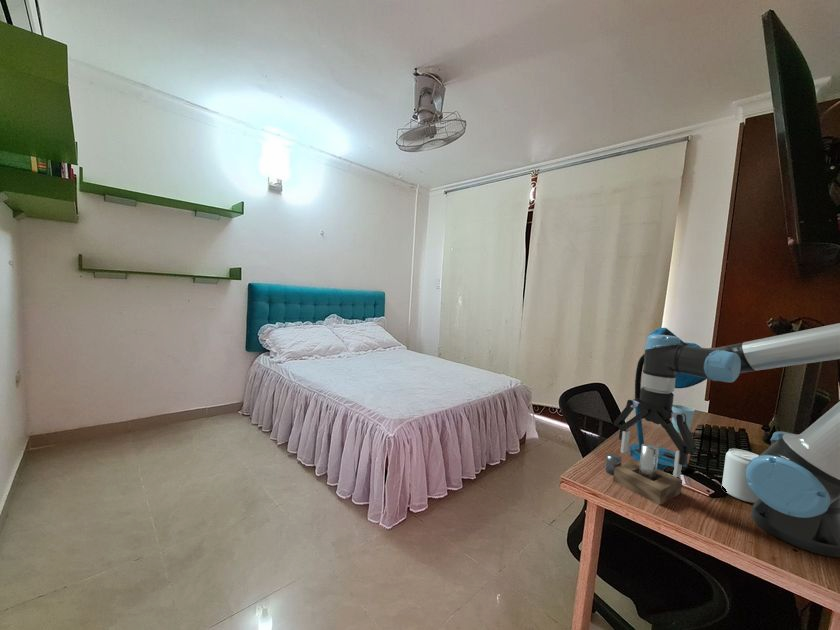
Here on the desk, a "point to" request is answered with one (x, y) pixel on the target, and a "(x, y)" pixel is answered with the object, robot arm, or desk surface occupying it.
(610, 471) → the stub pin
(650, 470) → the tall pin
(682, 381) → the desk lamp
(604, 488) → the desk surface
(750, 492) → the beverage can
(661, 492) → the tan square frame
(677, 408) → the cup
